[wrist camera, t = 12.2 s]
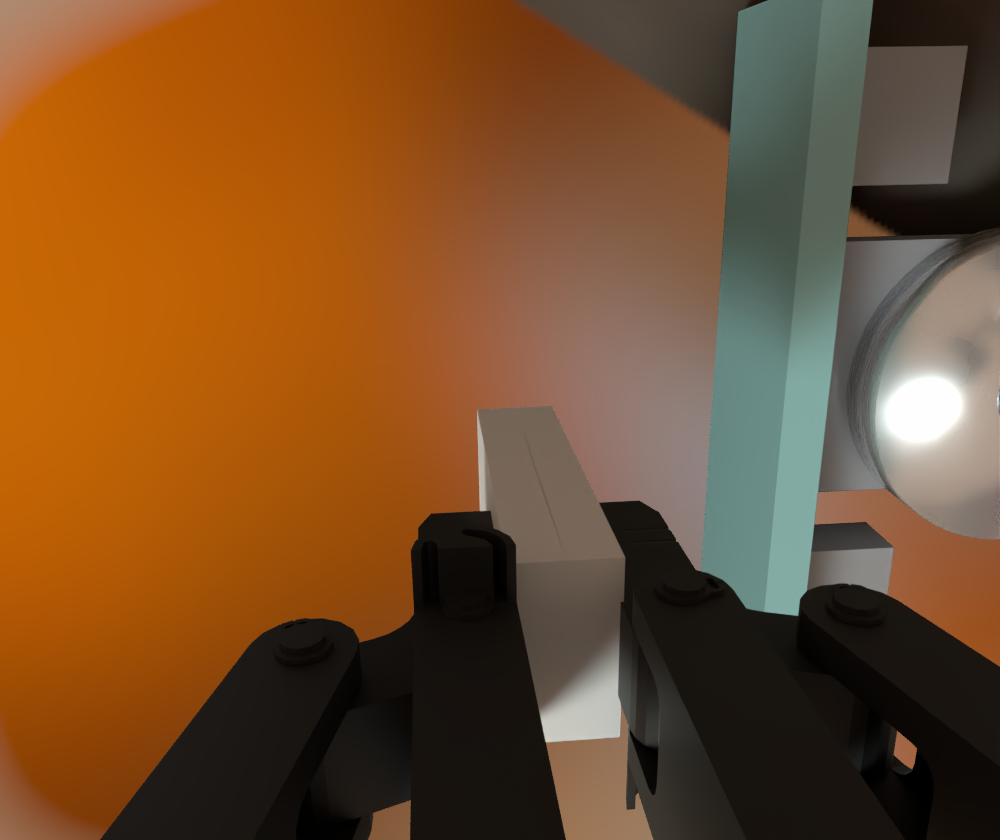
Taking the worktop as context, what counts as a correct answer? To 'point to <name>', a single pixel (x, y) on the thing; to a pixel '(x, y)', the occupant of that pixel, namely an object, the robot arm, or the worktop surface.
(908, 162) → the teal grey flat block
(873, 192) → the worktop surface
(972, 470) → the disc
